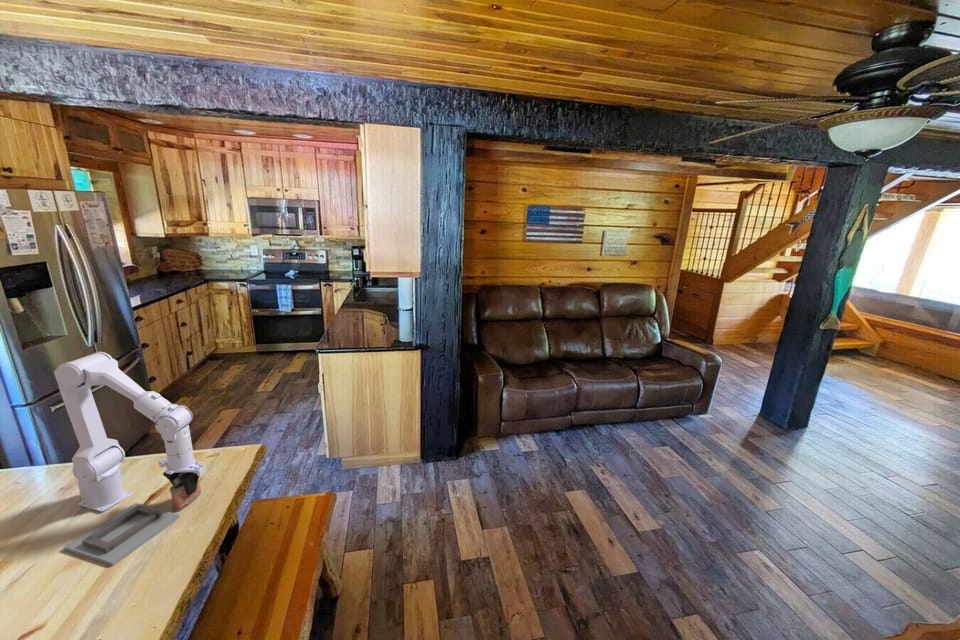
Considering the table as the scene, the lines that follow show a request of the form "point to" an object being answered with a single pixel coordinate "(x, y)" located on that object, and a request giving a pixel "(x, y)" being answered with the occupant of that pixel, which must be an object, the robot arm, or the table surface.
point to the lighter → (182, 495)
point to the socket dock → (122, 534)
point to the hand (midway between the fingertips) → (186, 491)
